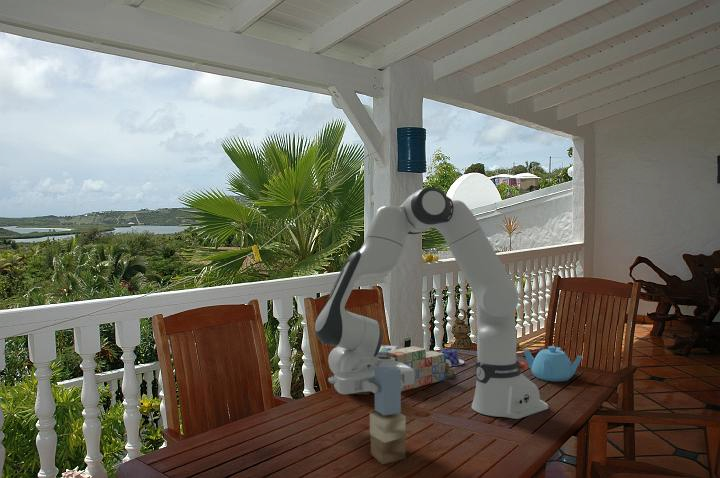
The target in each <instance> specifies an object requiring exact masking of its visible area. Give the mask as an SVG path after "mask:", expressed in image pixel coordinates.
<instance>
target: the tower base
mask: <svg viewBox="0 0 720 478" xmlns="http://www.w3.org/2000/svg"><path fill="white" fill-rule="evenodd" d="M370 455H371V456H372V457H373V458H375V459H376V460H377V461H378V462H379V463H380V462H381V463H380V464H381V465H385V464H389V462H390V463H395V462H398V460H400V461H403V460H402V459H404V460H406V437H405V438H401V439H397V440H393V441H390V442H386V443H384V442H382V441H380V440H379V439H377V438H375V437H374V436H372V435H370ZM394 461H395V462H394Z"/></svg>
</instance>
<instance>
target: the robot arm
mask: <svg viewBox="0 0 720 478" xmlns="http://www.w3.org/2000/svg"><path fill="white" fill-rule="evenodd" d="M369 223H370V224H369V226H368V229H367V231H366V236H365V238H364V242H363V244H362V245H361V248H360V249H359V250H358V251H353V252H352V253H350V255H349V256H348V257H347V259H346V261H345V262H344V264H343V266H342V268H341V270H340V272H339V274H338V277H337V278H336V280H335V283H334V284H333V287H332V289H331V292H330V293H329V295H328V298H327V299H326V302H325V304H324V305H323V307H322V309H321V310H320V312H319V314H318V315H317V317H316V320H315V322H314V332H315V336H316V337H317V339H318V340H319V342H320V343H321V344H323V345H327V346H333V347H334V348H333V349H331V351H330V353H329V354H328V357H327V358H328V359H327V360H328V365H329V369H330V371H331V372H332V373H333V375H331V377H328V379H327V381H328V382H329V383H330V384H333V387H334V389H335V390H336V392H338V393H339V394H341V395H350V394H351V393H358V392H368V391H370V392H371V393H373V394H375V393H378V392H380V385H379V384H378V383H375V375H374V368H375V367H382V366H390V365H392V366H394V367H396V368H398V369H400V370H401V389H403V386H404V385H411V384H413V383H414V380H415V374H414V370H413V369H412V368H411V367H409V366H407V365H405V364H403V363H401V362H396V361H395V358H392V357H376V356H377V354H378V352H379V350H380V348H381V345H383V344H382V343H383V338H384V336H383V331H382V328H381V324H380V323H379V322H378V320H376V319H373V318H370V317H368V316H364V315H361V314H357V313H354V312H351V311H348V310H346V307H345V306H346V303H347V301H348V299H349V298H350V295H351V293H352V291H353V289H354V287H355V284H356V282H358V280H359V279H360V278H362V277H365V276H375V275H377V276H378V275H384V274H387V273H390V272H392V271H393V270H395V268H396V267H397V266H398V265H399V264H400V261H401V259H402V256H403V251H404V247H405V243H406V239H407V236H408V235H417V234H421V233H423V232H427V230H430V229H432V228H433V229H436V230H437V231H438V232H439V234H441V235H442V237H443V239H444V241H445V243H446V245H447V247H448V249H449V250H450V252H451V254H452V256H453V257H454V259H455V262H456V264H457V266H458V267H459V269H460V270H461V272H462V274H463V276H464V278H465V280H466V282H467V283H468V286H469V287H470V289H471V291H472V293H473V295H474V296H475V299H476V300H475V301H476V304H475V305H476V307H475V308H476V330H477V331H476V335H477V336H476V337H477V338H476V339H477V340H476V344H477V345H476V348H477V350H476V351H477V353H476V356H477V358H476V359H475V375H476V376H475V377H476V383H475V389H474V390H475V391H474V396H473V400H472V403H471V409H472V410H473V411H475V412H476V413H478V414H482V415H486V416H490V417H497V418H498V417H500V418H501V417H502V418H509V419H516V420H518V419H522V418H525V417H527V416H531V415H534V414H537V413H539V412H543V411H546V410H548V409H549V405H548V403H547V402H545V401H544V400H542V399H541V397H540V391H539V388H538V386H537V385H536V384H535V383H534V382H533V381H532V380H530V379H529V378H528V377H526V376H525V375H524V374H523V373H522V371H521V369H522V370H524V371H526V370H528V367H529V365H528V362H524V361H518V360H517V330H516V318H515V310H516V309H517V308H518V305H519V300H520V298H519V297H520V294H519V292H518V289H517V288H516V286H515V283H514V281H513V280H512V278H511V276H510V275H509V273H508V271H507V269H506V268H505V266H504V265H503V263H502V261H501V260H500V257H498V255H497V252H496V251H495V250H494V248H493V246H492V244H491V242H490V240H489V239H488V237H487V235H486V233H485V231H484V229H483V228H482V226H481V224H480V222H479V220H477V218H476V216H475V215H474V214H473V212H472V210H470V208H469V207H468V206H467V205H466V204H465V202H463V201H462V200H458V199H457V200H456V199H455V200H452V199H451V198H450V197H449V196H448V195H447V194H446V193H445V192H444V191H442V190H441V189H440V188H438V187H435V186H425V187H422V188H419V189H418V190H416V192H413V193H412V194H410V195H409V196H408V197H407V198H406V199H405V200H404V201H403V202H402V203H401V204H400V205H398V206H396V205H391V204H390V205H389V204H387V205H383V206H380V207H379V208H378V209H377V210H376V211H375V212H374V215H373V217H372V219H371V222H369ZM351 395H352V394H351Z"/></svg>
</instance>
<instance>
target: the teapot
mask: <svg viewBox="0 0 720 478" xmlns="http://www.w3.org/2000/svg"><path fill="white" fill-rule="evenodd" d="M523 353H524V356H525V359H526V363H527V364H528V365H527V366H528V367H529V369H530V370H531V373H532V374H533V376H534V377H535V378H536V379H539V380H542V381H547V382H554V383H555V382H558V383H559V382H566V381H567V382H568V381H569V380H570V379H571V378H572V377H573V376H574V375H575V373H576V370H577V369H578V367H579V365H580V363H581V360H582V358H583V356H582V355H577V356H576V358H575V359H574V362H573V363H572V362H571V360H570V358H569V357H568V355H567V354H566V352H564V351H563V350H562V348H561V347H558V346H557V347H556V346H555V345H549V346H548V347H547V348H544V349H541V350H539V352H538V353H537V354H536V356H535V358H534V356H533V355H532V354H531V351H530V350H529V349H524V350H523Z"/></svg>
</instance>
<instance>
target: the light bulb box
mask: <svg viewBox="0 0 720 478" xmlns="http://www.w3.org/2000/svg"><path fill="white" fill-rule="evenodd" d="M397 349H399V348H398V346H397V345H383V344H381V348H380V350H379V352H378V354H377V356H376V357H386V352H387V351H392V350H397Z"/></svg>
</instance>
